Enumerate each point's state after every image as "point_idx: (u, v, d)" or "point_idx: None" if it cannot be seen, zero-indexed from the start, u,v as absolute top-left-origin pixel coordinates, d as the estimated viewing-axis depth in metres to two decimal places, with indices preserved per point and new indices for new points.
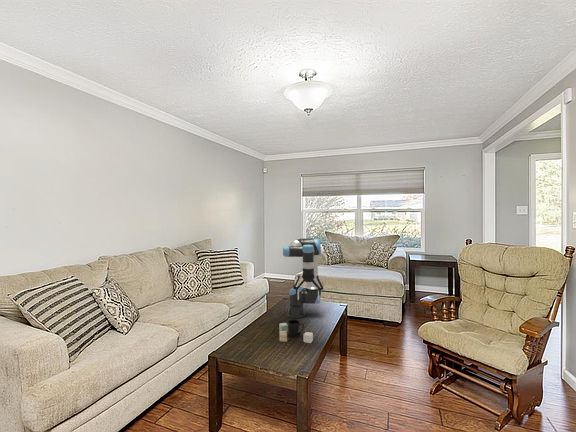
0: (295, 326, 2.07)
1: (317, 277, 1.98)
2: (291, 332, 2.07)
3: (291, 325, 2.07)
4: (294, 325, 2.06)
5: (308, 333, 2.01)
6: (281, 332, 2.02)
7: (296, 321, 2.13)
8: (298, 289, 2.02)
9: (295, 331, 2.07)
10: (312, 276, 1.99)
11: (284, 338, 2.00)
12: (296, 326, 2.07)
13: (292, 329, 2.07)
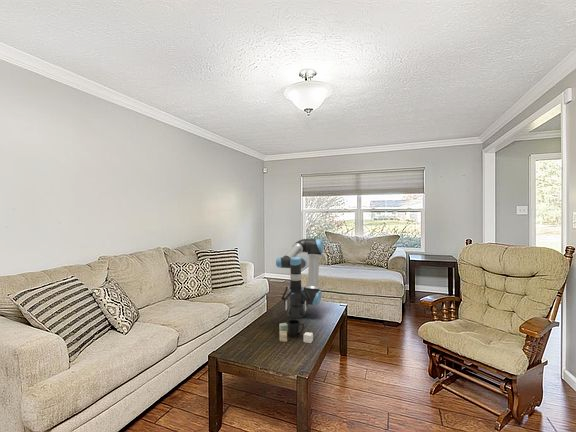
0: (295, 326, 2.07)
1: (304, 288, 2.07)
2: (291, 332, 2.07)
3: (291, 325, 2.07)
4: (294, 325, 2.06)
5: (308, 333, 2.01)
6: (281, 332, 2.02)
7: (296, 321, 2.13)
8: (286, 300, 2.11)
9: (295, 331, 2.07)
10: (299, 287, 2.08)
11: (284, 338, 2.00)
12: (296, 326, 2.07)
13: (292, 329, 2.07)
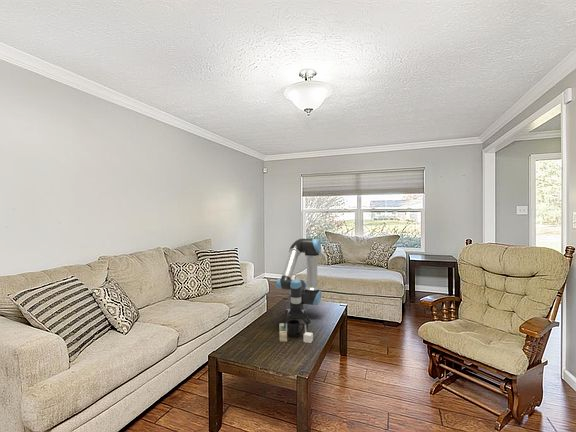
0: (295, 326, 2.07)
1: (304, 311, 2.07)
2: (291, 332, 2.07)
3: (291, 325, 2.07)
4: (294, 325, 2.06)
5: (308, 333, 2.01)
6: (281, 332, 2.02)
7: (296, 321, 2.13)
8: (286, 322, 2.11)
9: (295, 331, 2.07)
10: (299, 310, 2.08)
11: (284, 338, 2.00)
12: (296, 326, 2.07)
13: (292, 329, 2.07)
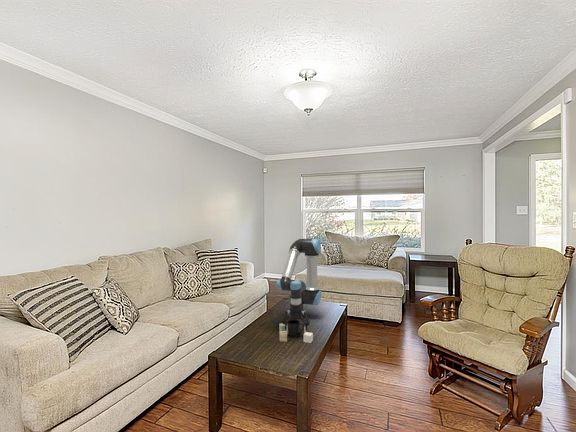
0: (295, 326, 2.07)
1: (304, 313, 2.07)
2: (291, 332, 2.07)
3: (291, 325, 2.07)
4: (294, 325, 2.06)
5: (308, 333, 2.01)
6: (281, 332, 2.02)
7: (296, 321, 2.13)
8: (287, 324, 2.11)
9: (295, 331, 2.07)
10: (300, 311, 2.08)
11: (284, 338, 2.00)
12: (296, 326, 2.07)
13: (292, 329, 2.07)
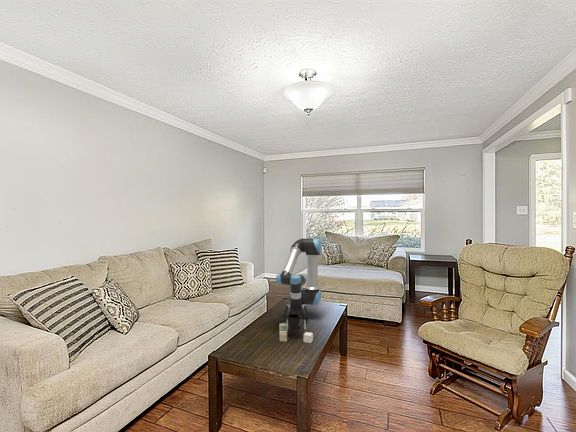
0: (295, 320, 2.07)
1: (304, 307, 2.08)
2: (291, 326, 2.08)
3: (291, 319, 2.07)
4: (294, 319, 2.07)
5: (308, 333, 2.01)
6: (281, 332, 2.02)
7: (296, 315, 2.14)
8: (287, 318, 2.11)
9: (295, 325, 2.07)
10: (300, 306, 2.08)
11: (284, 338, 2.00)
12: (296, 320, 2.07)
13: (292, 323, 2.07)
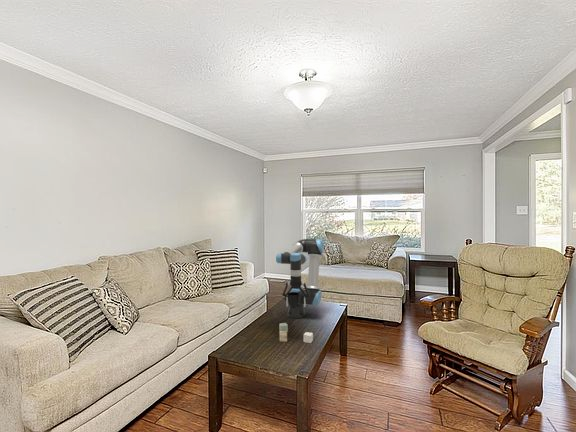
0: (295, 297, 2.07)
1: (304, 284, 2.08)
2: (291, 303, 2.07)
3: (291, 296, 2.07)
4: (294, 296, 2.06)
5: (308, 333, 2.01)
6: (281, 332, 2.02)
7: (296, 293, 2.13)
8: (287, 296, 2.11)
9: (295, 302, 2.07)
10: (299, 283, 2.08)
11: (284, 338, 2.00)
12: (296, 297, 2.07)
13: (292, 300, 2.07)
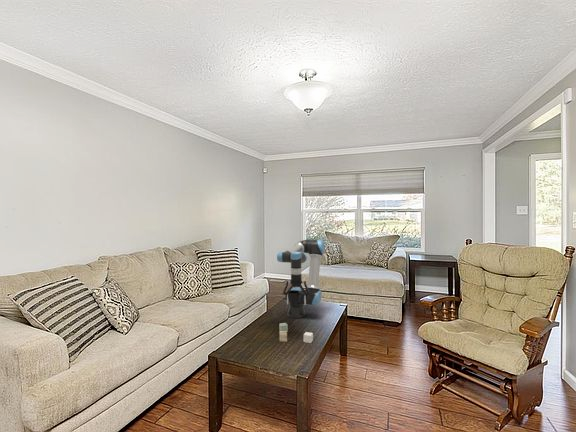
0: (295, 295, 2.09)
1: (304, 283, 2.10)
2: (291, 301, 2.10)
3: (291, 294, 2.09)
4: (294, 294, 2.09)
5: (308, 333, 2.01)
6: (281, 332, 2.02)
7: (296, 291, 2.16)
8: None
9: (295, 300, 2.10)
10: (300, 281, 2.11)
11: (284, 338, 2.00)
12: (296, 295, 2.10)
13: (292, 298, 2.09)
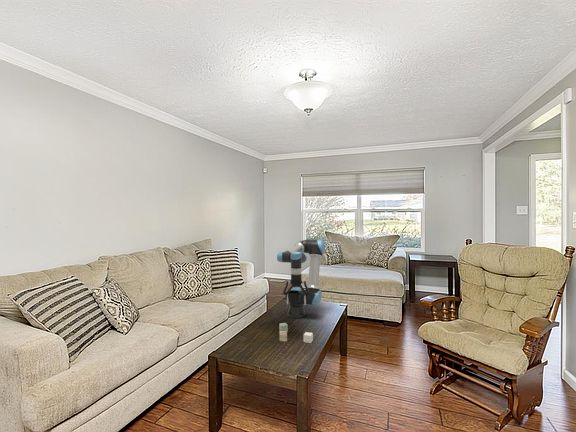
0: (295, 295, 2.09)
1: (304, 283, 2.10)
2: (291, 301, 2.10)
3: (291, 294, 2.09)
4: (294, 294, 2.09)
5: (308, 333, 2.01)
6: (281, 332, 2.02)
7: (296, 291, 2.16)
8: None
9: (295, 300, 2.10)
10: (300, 281, 2.11)
11: (284, 338, 2.00)
12: (296, 295, 2.10)
13: (292, 298, 2.09)
